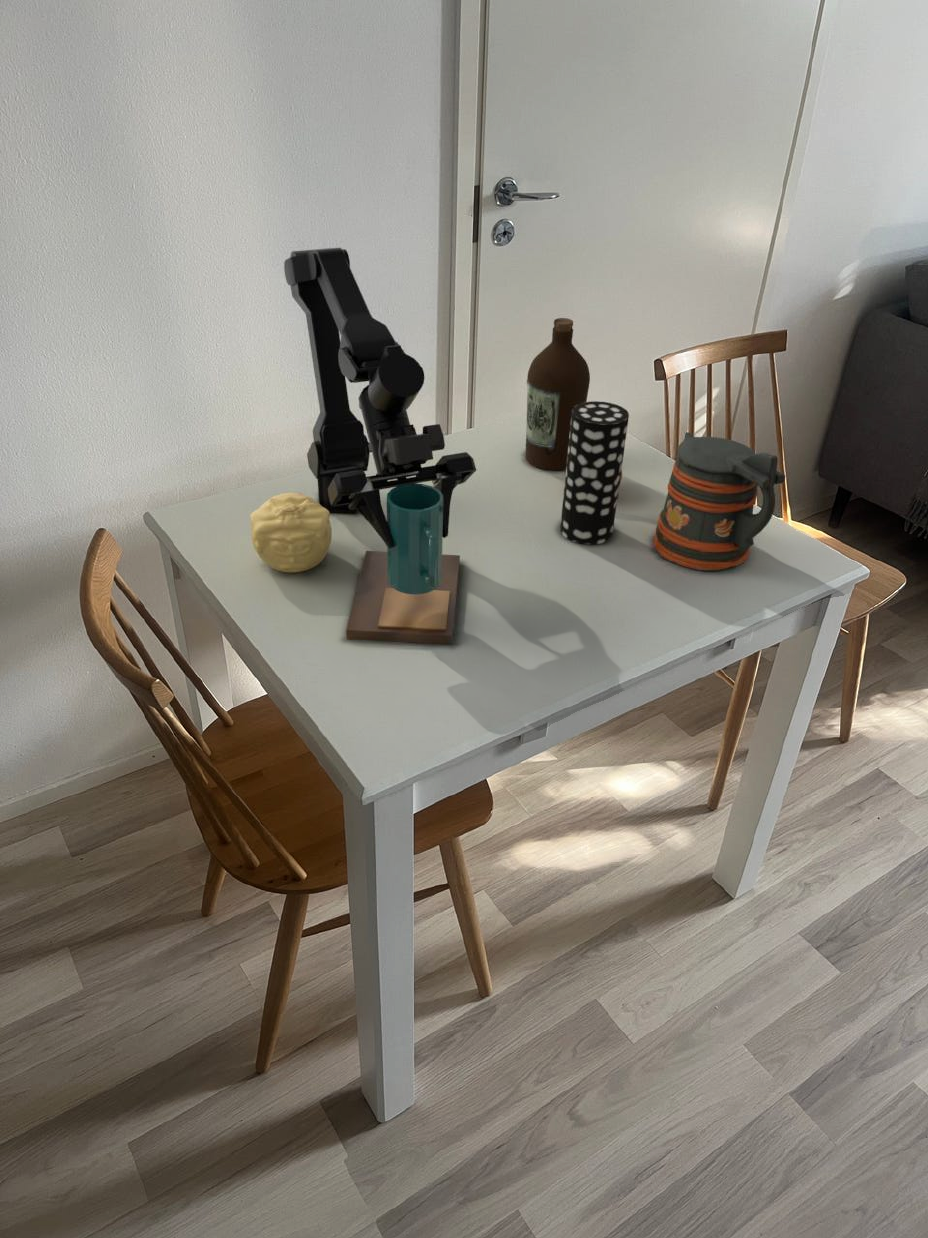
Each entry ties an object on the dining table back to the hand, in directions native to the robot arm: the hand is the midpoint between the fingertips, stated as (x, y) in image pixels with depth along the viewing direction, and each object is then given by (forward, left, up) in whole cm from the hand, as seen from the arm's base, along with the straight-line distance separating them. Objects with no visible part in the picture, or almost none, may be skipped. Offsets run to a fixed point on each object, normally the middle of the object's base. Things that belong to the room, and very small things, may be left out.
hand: (418, 542), depth 124 cm
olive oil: (+19, +52, -13) cm, 57 cm away
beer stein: (+43, +22, -13) cm, 50 cm away
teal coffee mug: (0, 0, -7) cm, 7 cm away
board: (-2, +6, -13) cm, 14 cm away
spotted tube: (+24, +27, -13) cm, 39 cm away
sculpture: (-20, +14, -13) cm, 28 cm away
